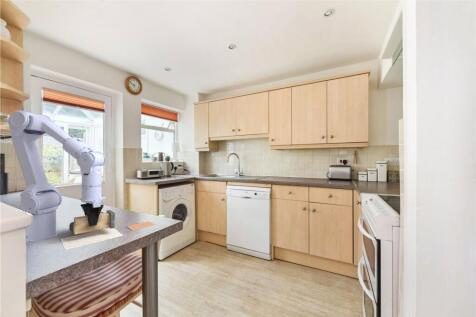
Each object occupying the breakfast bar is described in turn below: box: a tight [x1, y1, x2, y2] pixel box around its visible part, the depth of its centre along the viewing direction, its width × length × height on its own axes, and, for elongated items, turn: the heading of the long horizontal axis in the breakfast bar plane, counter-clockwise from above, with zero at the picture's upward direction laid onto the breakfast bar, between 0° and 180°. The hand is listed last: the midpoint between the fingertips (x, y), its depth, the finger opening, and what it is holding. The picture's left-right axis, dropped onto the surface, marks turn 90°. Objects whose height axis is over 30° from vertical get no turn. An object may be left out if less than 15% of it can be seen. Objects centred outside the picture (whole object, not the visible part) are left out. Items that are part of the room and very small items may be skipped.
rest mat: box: [59, 228, 124, 251], centre depth 71 cm, size 16×12×1 cm
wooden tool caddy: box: [73, 209, 116, 235], centre depth 73 cm, size 11×6×6 cm, turn 136°
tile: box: [126, 220, 156, 232], centre depth 83 cm, size 1×6×9 cm
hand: (91, 224), depth 72 cm, fingers closed on wooden tool caddy, 3 cm apart
